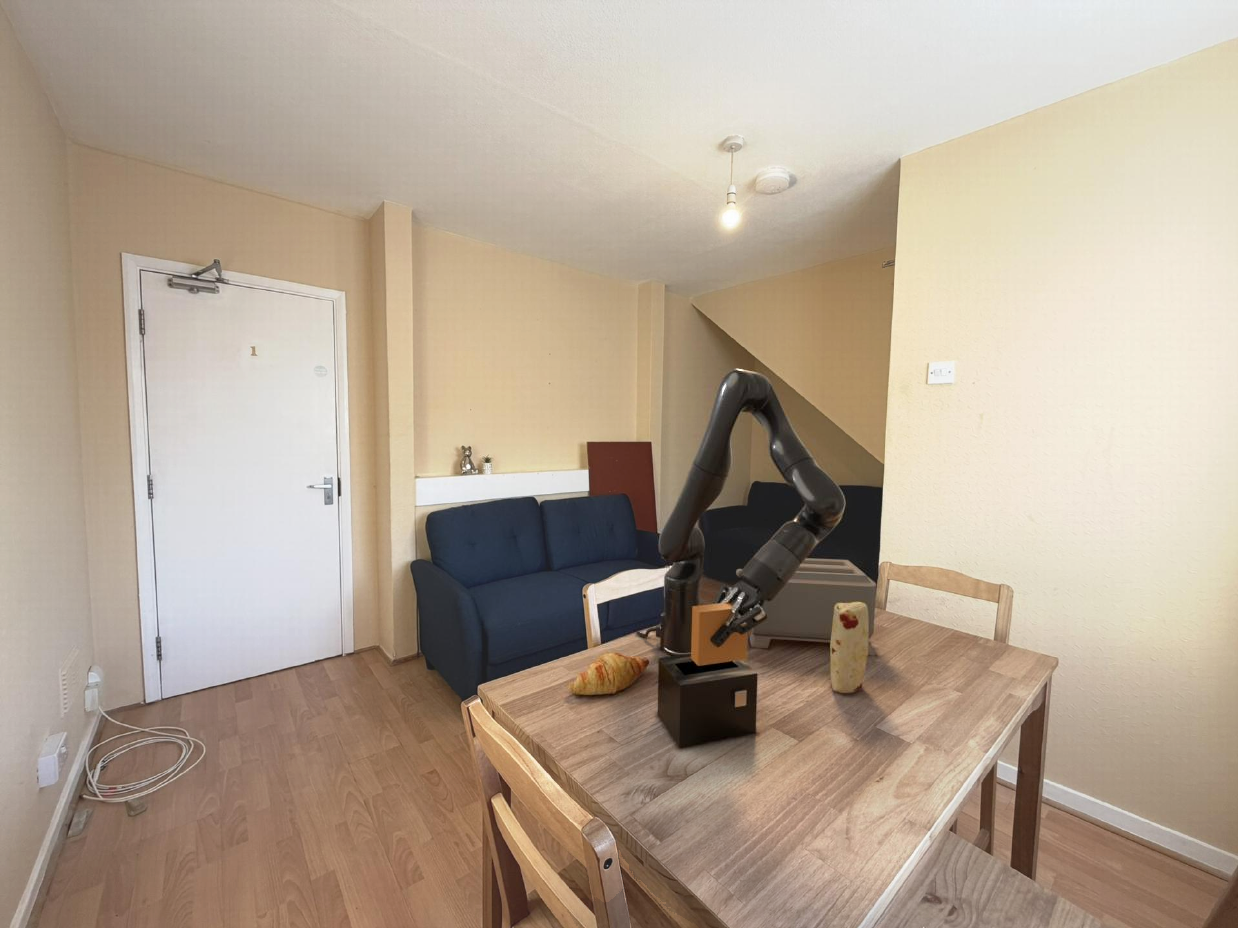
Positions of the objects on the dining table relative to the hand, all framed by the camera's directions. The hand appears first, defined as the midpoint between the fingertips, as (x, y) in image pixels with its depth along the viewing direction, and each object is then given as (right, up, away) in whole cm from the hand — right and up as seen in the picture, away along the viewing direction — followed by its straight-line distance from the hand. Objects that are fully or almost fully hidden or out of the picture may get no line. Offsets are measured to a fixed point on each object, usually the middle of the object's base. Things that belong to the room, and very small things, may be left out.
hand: (709, 639), depth 89 cm
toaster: (+34, -17, +48) cm, 61 cm away
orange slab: (+2, -4, +1) cm, 4 cm away
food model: (+35, -19, +20) cm, 44 cm away
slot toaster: (0, -19, +7) cm, 20 cm away
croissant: (-19, -18, +22) cm, 34 cm away
